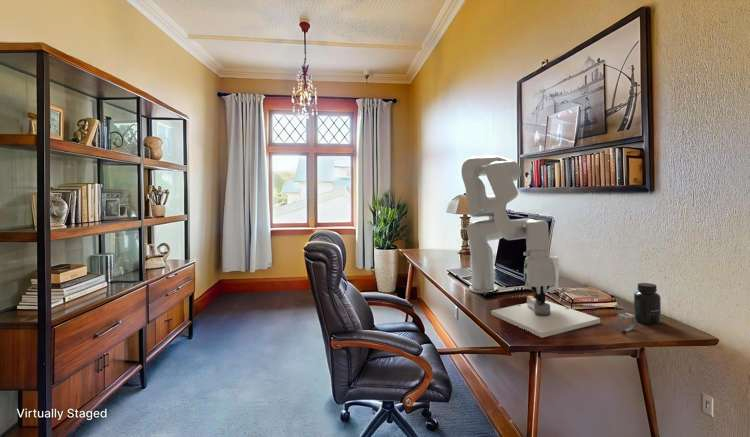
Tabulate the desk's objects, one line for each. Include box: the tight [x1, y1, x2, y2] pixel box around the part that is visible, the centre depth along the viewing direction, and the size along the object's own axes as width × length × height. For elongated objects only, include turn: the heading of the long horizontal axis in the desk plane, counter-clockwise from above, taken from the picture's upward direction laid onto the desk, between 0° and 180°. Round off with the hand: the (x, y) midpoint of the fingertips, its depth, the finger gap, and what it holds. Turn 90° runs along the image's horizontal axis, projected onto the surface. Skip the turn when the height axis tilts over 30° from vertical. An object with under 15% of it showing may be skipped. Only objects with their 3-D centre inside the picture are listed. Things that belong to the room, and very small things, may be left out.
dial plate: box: [490, 299, 601, 339], centre depth 124 cm, size 24×24×2 cm
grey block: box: [526, 295, 550, 316], centre depth 127 cm, size 12×5×3 cm, turn 0°
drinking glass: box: [547, 255, 560, 291], centre depth 152 cm, size 7×7×15 cm
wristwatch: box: [616, 312, 637, 333], centre depth 109 cm, size 6×3×5 cm, turn 105°
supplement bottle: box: [633, 282, 662, 326], centre depth 114 cm, size 7×7×12 cm
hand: (540, 303), depth 131 cm, fingers closed
